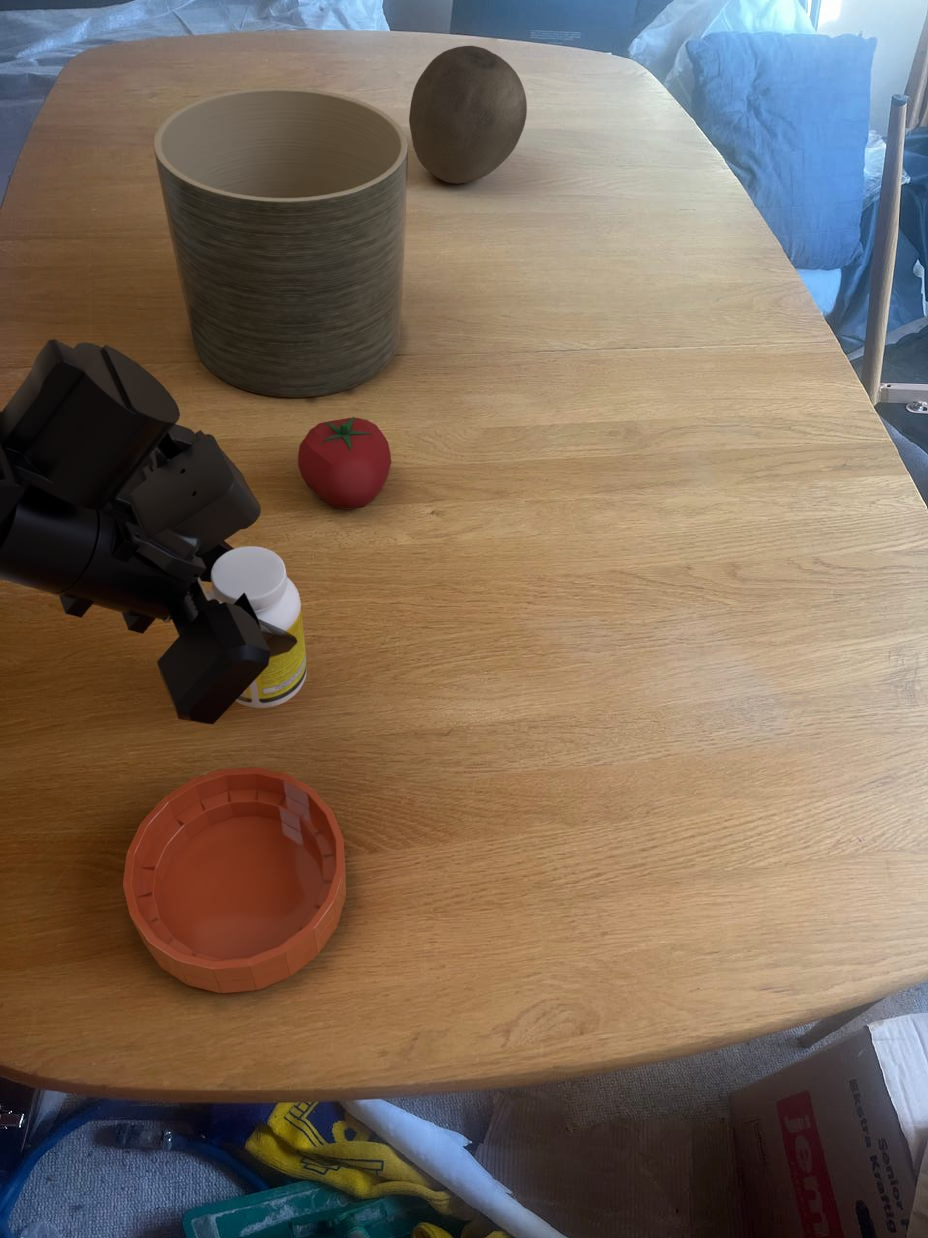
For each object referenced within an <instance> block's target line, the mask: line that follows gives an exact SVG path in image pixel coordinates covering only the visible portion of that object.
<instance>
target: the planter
mask: <svg viewBox="0 0 928 1238" xmlns="http://www.w3.org/2000/svg"><path fill="white" fill-rule="evenodd" d="M152 143H153V144H152V145H153V151H154V152H153V153H154V157H155V158H154V159H155V162H156V163H155V164H156V168H157V173H158V179H159V184H160V189H161V195H162V199H163V205H164V210H165V215H166V220H167V225H168V230H169V236H170V240H171V245H172V250H173V255H174V259H175V264H176V270H177V273H178V278H179V282H180V288H181V292H182V296H183V301H184V306H185V310H186V315H187V319H188V324H189V329H190V334H191V338H192V339H191V340H192V342H193V343H192V344H193V346H194V350H195V352H196V354H197V356H198V359H200V361H201V363H202V364H203V365H204V366H205V367H206V368H207V369H208V370H209V371H210V372H211V373H212V374H213V375H215V377H218V378H219V379H221V380H222V381H224V382H226V383H228V384H230V385H232V386H234V387H236V388H239V389H242V390H245V391H248V392H251V393H256V394H259V395H264V396H270V397H278V398H313V397H321V396H326V395H332V394H336V393H339V392H343V391H347V390H349V389H352V388H355V387H357V386H360V385H362V384H363V383H366V382H368V381H369V380H371V379H372V378H374V377H376V376H377V375H378V374H380V372H382V371H383V370H384V369H385V368H386V367H387V366H388V365H389V364H390V363H391V361H392V360H393V359H394V356H395V355H396V354H397V351H398V348H399V345H400V339H401V324H402V323H401V322H402V304H403V303H402V302H403V301H402V300H403V285H404V268H405V266H404V265H405V250H406V249H405V248H406V229H407V228H406V226H407V225H406V224H407V223H406V222H407V197H408V194H407V193H408V166H409V165H408V164H409V162H408V161H409V142H408V138H407V135H406V133H405V131H404V130H403V128H402V127H401V125H400V124H399V123H398V122H397V121H396V120H395V119H394V118H393V117H392V116H390V115H388V114H387V113H386V112H384V111H383V110H381V109H379V108H378V107H376V106H373V105H371V104H370V103H368V102H364V101H362V100H360V99H357V98H354V97H351V96H347V95H345V94H339V93H336V92H331V91H327V90H321V89H314V88H305V87H295V86H294V87H290V86H261V87H250V88H241V89H235V90H229V91H224V92H219V93H215V94H212V95H208V96H205V97H201V98H199V99H196V100H194V101H192V102H190V103H187V104H184V105H183V106H181V107H179V108H178V109H176V110H175V111H173V112H172V113H171V114H169V115H168V116H166V117H165V119H163V121H162V122H160V124H159V126H158V127H157V129H156V131H155V133H154V135H153V142H152Z"/></svg>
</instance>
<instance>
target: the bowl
mask: <svg viewBox="0 0 928 1238" xmlns="http://www.w3.org/2000/svg"><path fill="white" fill-rule="evenodd" d="M345 853H346V852H345V840H344V836H343V833H342V831H341V829H340V826H339V822H338V821H337V818H336V815H335V813H334V811H333V809H332V808H331V807H330V806H329V805H328V804H327V803H326V801H325V800H324V799H323V798H322V797H321V796H320V795H319V794H318V792H317V791H316V790H315V789H314V788H312V787H311V786H309V785H308V784H306V783H304V782H302V781H300V780H299V779H297V778H295V777H293V776H292V775H290V774H288V773H285V772H281V771H276V770H272V769H267V768H262V767H257V766H250V767H248V766H247V767H233V768H232V767H231V768H222V769H219V770H216V771H213V772H210V773H207V774H204V775H201V776H198V777H195V778H192V779H190V780H188V781H187V782H186V783H184V784H183V785H180V786H179V787H178V788H176V789H174V790H173V791H171V792H170V793H168V794H167V795H165V796H164V797H163V798H162V799H160V801H159V802H157V805H155V807H154V808H153V809H152V810H151V811H150V812H149V813H148V814H147V816H145V818H144V819H142V821H141V822H140V825H139V826H138V828H137V830H136V833H135V835H134V837H133V839H132V841H131V843H130V845H129V847H128V849H127V851H126V855H125V862H124V870H123V871H124V872H123V879H122V889H123V892H124V898H125V901H126V905H127V909H128V914H129V916H130V919H131V921H132V923H133V925H134V927H135V929H136V931H137V933H138V935H139V937H140V939H141V940H142V942H143V944H144V946H145V948H147V950H148V952H150V954H151V956H152V957H153V959H154V960H155V962H157V964H158V965H159V967H160V968H161V969H162V970H164V971H166V972H167V973H168V974H169V975H171V976H173V977H175V978H176V979H178V980H179V981H180V982H181V983H183V984H185V985H187V986H189V987H194V988H197V989H201V990H206V991H209V992H214V993H218V994H221V993H222V994H228V993H239V992H240V993H241V992H251V991H259V990H261V989H263V988H266V987H268V986H271V985H274V984H276V983H278V982H280V981H284V980H287V979H288V978H290V977H292V976H293V975H294V974H296V973H297V972H298V971H299V970H300V969H302V968H304V966H305V965H307V964H308V963H309V962H310V961H312V960H313V959H314V958H316V957H317V956H318V955H319V954H320V952H321V951H322V949H323V948H324V946H325V945H326V944H327V942H328V941H329V939H330V938H331V936H332V935H333V933H335V931H336V929H337V927H338V925H339V921H340V919H341V915H342V912H343V908H344V905H345V901H346V898H347V876H346V875H347V873H346V871H347V870H346V855H345Z"/></svg>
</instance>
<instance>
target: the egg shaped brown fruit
mask: <svg viewBox="0 0 928 1238" xmlns="http://www.w3.org/2000/svg"><path fill="white" fill-rule="evenodd" d="M527 112H528V103H527V96H526V92H525V88H524V85H523V82H522V81H521V78H520V77H519V75H518V73H517V72H516V70H515V69H514V68H513V67H512V66H511V65H510V64H509V63H508V62H507V61H506V60H504V59H503V58H502V57H501V56H499V55H497V54H496V53H494V52H492V51H490V50H489V49H487V48H484V47H480V46H475V45H461V46H456V47H453V48H450V49H447V50H445V51H443V52H441V53H440V54H438V55H436V56H435V57H434V58H433V59H432V60H431V61H430V62H429V64H427V66H426V68H425V69H424V70H423V72H422V73H421V75H420V76H419V78H418V80H417V82H416V83H415V85H414V89H413V92H412V96H411V101H410V106H409V113H408V114H409V115H408V116H409V117H408V123H409V130H410V135H411V136H410V137H411V142H412V147H413V149H414V153H415V155H416V157H417V159H418V161H419V163H420V164H421V165H422V167H424V169H425V170H427V171H428V172H429V174H431V175H433V176H434V177H435V178H437V179H439V180H441V181H443V182H446V183H449V184H467V183H472V182H476V181H478V180H480V179H482V178H484V177H487V176H488V175H490V174H491V173H493V172H494V171H495V170H497V168H499V167H500V165H502V164H503V163H504V162H505V161H506V160H507V159H508V158H509V157H510V156H511V154H512V153H513V151H514V150H515V149H516V147H517V145H518V142H519V140H520V139H521V136H522V134H523V132H524V128H525V125H526V120H527Z"/></svg>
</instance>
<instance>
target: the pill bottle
mask: <svg viewBox="0 0 928 1238" xmlns="http://www.w3.org/2000/svg"><path fill="white" fill-rule="evenodd" d="M210 583H211V588H210V590H209V592H208V593H207V594H208V596H209V598H210V600H212V599H217V600H220V601H222V603H224V602H227V603H230V604H234V603H235V602H236V601H237V600H238V598H239V597H240V596H241V595H242V594H243V593H245V594H246V595H247V597H248V599H249V601H250V603H251V605H252V607H253V609H254V611H255V613H256V615H257V617H258V619H260V620H263V621H265V622H267V623H269V624H271V625H274V626H276V627H278V628H280V629H282V630H284V631H286V632H288V633H290V634H291V635H293V636H295V637H296V639H297V643H296V644H295V646H294V647H293V648H292V649H291V650H290V651H288V652H286V653H283V654H279V655H276V656H273V657H270V659H269V664H268V666H267V667H266V668H265V669H264V671H263V672H262V673H261V674H260V675H259V676H258V677H257V678H256V679H255V680H254V681H253V682H252V683H251V685H250V686H249V687H248V688H247V689H246V690H245V691H244V692H243V693H242V694H241V695H240V696H239V697H238V699H237V700H236V701H235V702H236V703H238V704H240V705H242V706H245V707H250V708H254V709H268V708H272V707H277V706H279V705H283V704H284V703H286V702H288V701H289V700H290V699H292V698H293V697H294V696H295V695H297V694H298V692H299V691H300V690H301V689H302V686H303V685H304V683H305V681H306V677H307V673H308V672H307V671H308V664H307V663H308V662H307V654H306V652H307V651H306V644H305V633H304V623H303V613H302V602H301V597H300V593H299V591H298V589H297V586H296V585H295V583H294V582H293V581H292V580H291V579H290V578H289V577H288V575H287V569H286V565H285V562H284V561H283V559H282V558H281V557H280V556H279V554H277V553H276V552H275V551H273V550H271V549H269V548H266V547H261V546H256V545H255V546H254V545H247V546H240V547H236V548H234V549H233V550H230V551H228V552H226V553H225V554H223V555H222V556H221V557H220V558H219V559H218V560H217V561H216V562H215V564H214V565H213V568H212V571H211V582H210Z"/></svg>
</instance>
